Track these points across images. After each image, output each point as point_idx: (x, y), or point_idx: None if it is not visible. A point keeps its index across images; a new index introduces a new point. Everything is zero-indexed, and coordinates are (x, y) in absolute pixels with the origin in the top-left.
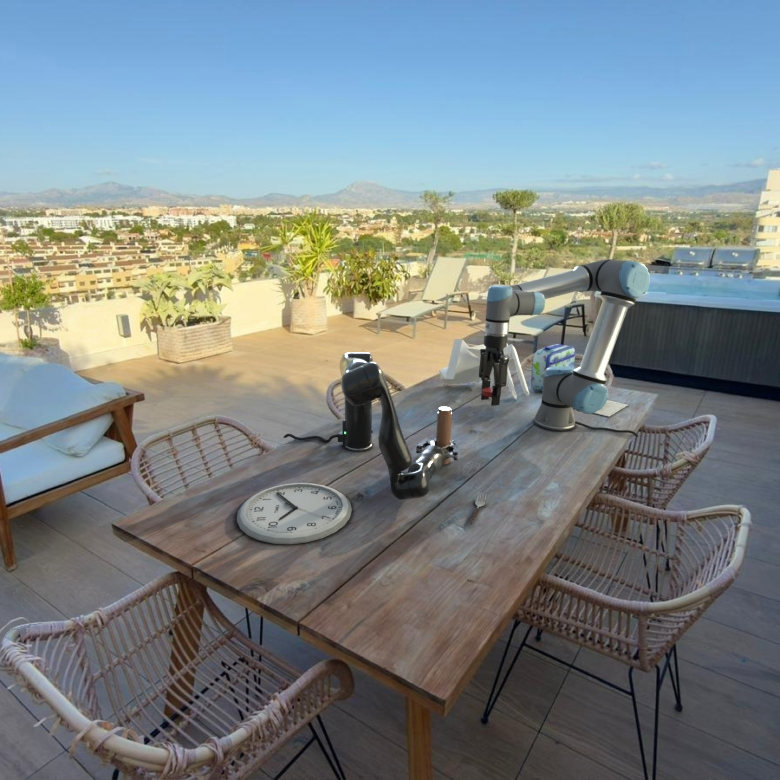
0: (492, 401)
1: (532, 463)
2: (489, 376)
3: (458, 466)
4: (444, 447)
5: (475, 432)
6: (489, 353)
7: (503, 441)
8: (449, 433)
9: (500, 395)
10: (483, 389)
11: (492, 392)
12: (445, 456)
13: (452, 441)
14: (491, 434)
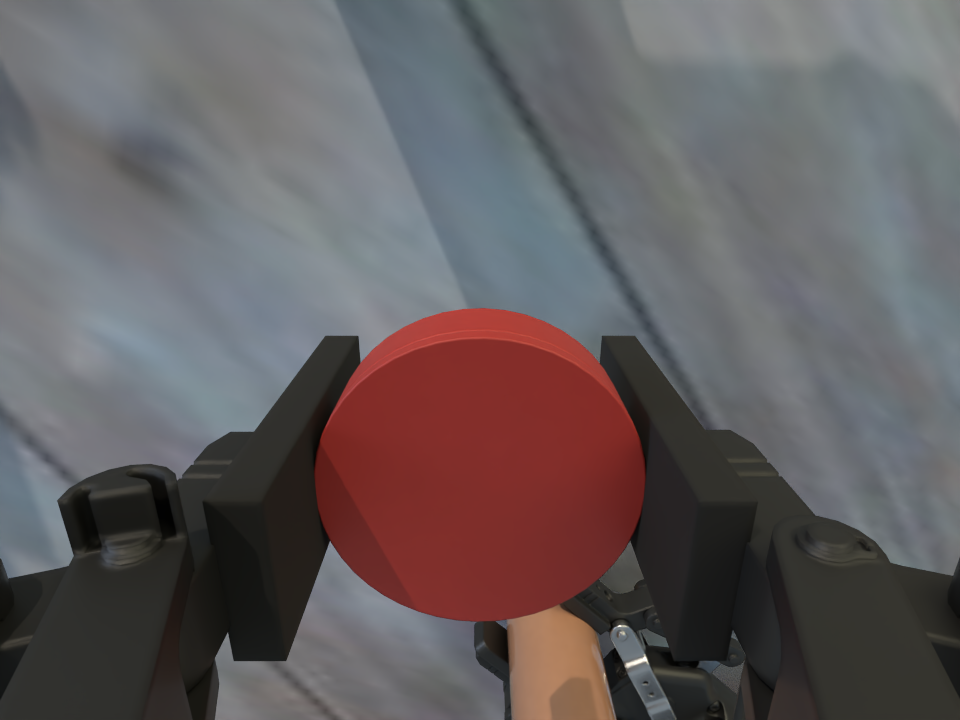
0: None
1: (812, 69)
2: (171, 612)
3: None
4: (663, 696)
5: (169, 151)
6: None
7: (394, 31)
8: (611, 696)
9: (745, 442)
10: (405, 591)
11: (644, 562)
12: (725, 700)
13: (579, 607)
14: (233, 42)
